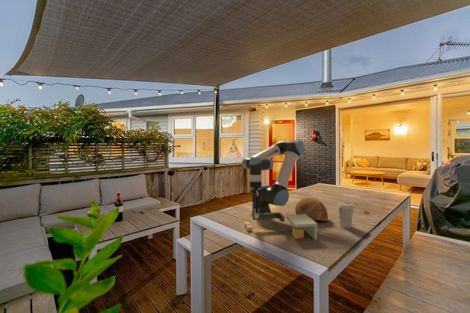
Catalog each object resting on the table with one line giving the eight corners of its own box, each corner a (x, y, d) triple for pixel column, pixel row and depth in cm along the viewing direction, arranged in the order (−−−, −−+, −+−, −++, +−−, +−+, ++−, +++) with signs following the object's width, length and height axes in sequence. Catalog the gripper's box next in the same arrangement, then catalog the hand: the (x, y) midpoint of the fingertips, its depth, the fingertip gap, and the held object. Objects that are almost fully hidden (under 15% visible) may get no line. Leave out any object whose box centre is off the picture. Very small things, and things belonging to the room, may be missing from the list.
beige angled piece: (285, 230, 143) (285, 215, 142) (305, 228, 144) (305, 214, 143) (295, 241, 127) (295, 224, 126) (317, 239, 128) (317, 223, 128)
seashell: (311, 210, 176) (315, 192, 172) (331, 224, 158) (335, 205, 154) (289, 213, 169) (292, 195, 164) (306, 229, 150) (310, 208, 146)
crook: (252, 217, 147) (252, 202, 146) (279, 216, 149) (279, 201, 148) (254, 223, 137) (254, 206, 137) (284, 221, 139) (284, 205, 139)
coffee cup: (357, 228, 143) (357, 205, 142) (343, 229, 141) (343, 206, 140) (347, 223, 152) (347, 201, 151) (334, 224, 151) (334, 202, 150)
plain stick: (244, 226, 151) (244, 221, 151) (248, 226, 152) (248, 221, 151) (247, 232, 141) (247, 227, 141) (252, 231, 142) (252, 227, 142)
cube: (292, 234, 135) (292, 226, 135) (300, 234, 136) (300, 226, 136) (295, 238, 130) (295, 230, 130) (303, 238, 131) (303, 229, 131)
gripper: (247, 178, 152) (247, 213, 153) (252, 183, 135) (252, 221, 136) (258, 178, 153) (258, 212, 154) (264, 183, 136) (264, 221, 137)
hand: (255, 216), depth 145 cm, fingers closed on crook, 4 cm apart
